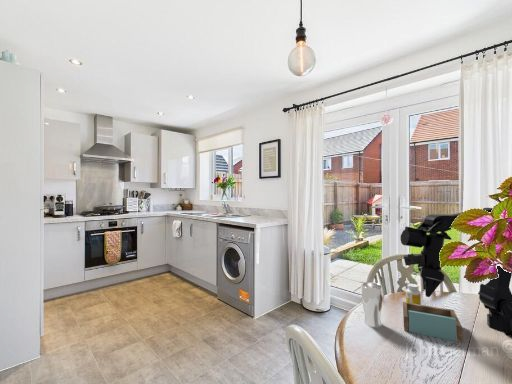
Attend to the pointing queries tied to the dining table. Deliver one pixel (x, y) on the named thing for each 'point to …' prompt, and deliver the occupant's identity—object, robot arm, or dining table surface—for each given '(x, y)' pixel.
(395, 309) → the dining table surface
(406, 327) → the crate
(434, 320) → the panel
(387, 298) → the dining table surface
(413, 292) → the supplement bottle
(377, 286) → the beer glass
